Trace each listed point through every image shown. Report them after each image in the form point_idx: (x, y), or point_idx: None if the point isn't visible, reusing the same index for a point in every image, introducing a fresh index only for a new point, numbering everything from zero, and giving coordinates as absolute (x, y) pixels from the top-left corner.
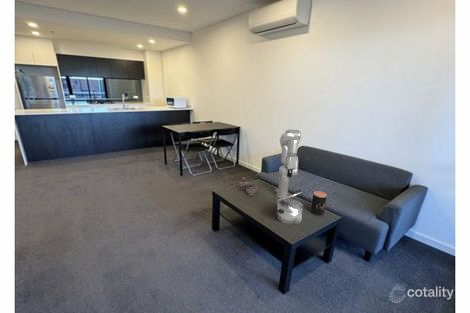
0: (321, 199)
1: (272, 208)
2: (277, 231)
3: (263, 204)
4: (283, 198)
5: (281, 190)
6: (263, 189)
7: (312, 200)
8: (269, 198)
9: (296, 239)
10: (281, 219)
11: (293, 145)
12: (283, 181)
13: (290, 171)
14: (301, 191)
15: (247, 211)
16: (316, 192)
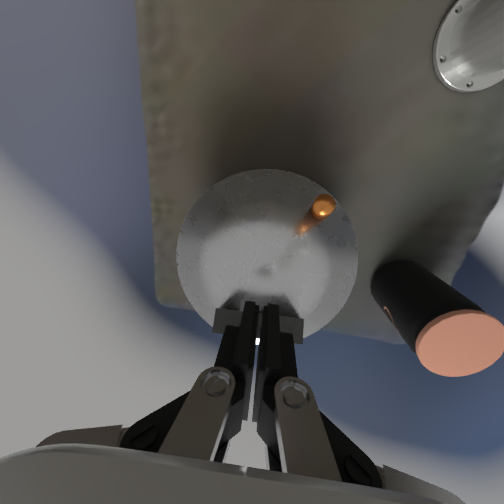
0: (413, 351)
1: (281, 118)
2: (160, 248)
3: (280, 44)
4: (177, 264)
5: (488, 24)
6: None
7: (415, 290)
8: (380, 3)
9: (180, 307)
10: None
11: None
12: None
13: (222, 445)
14: (308, 335)
15: (150, 45)
16: (469, 327)
